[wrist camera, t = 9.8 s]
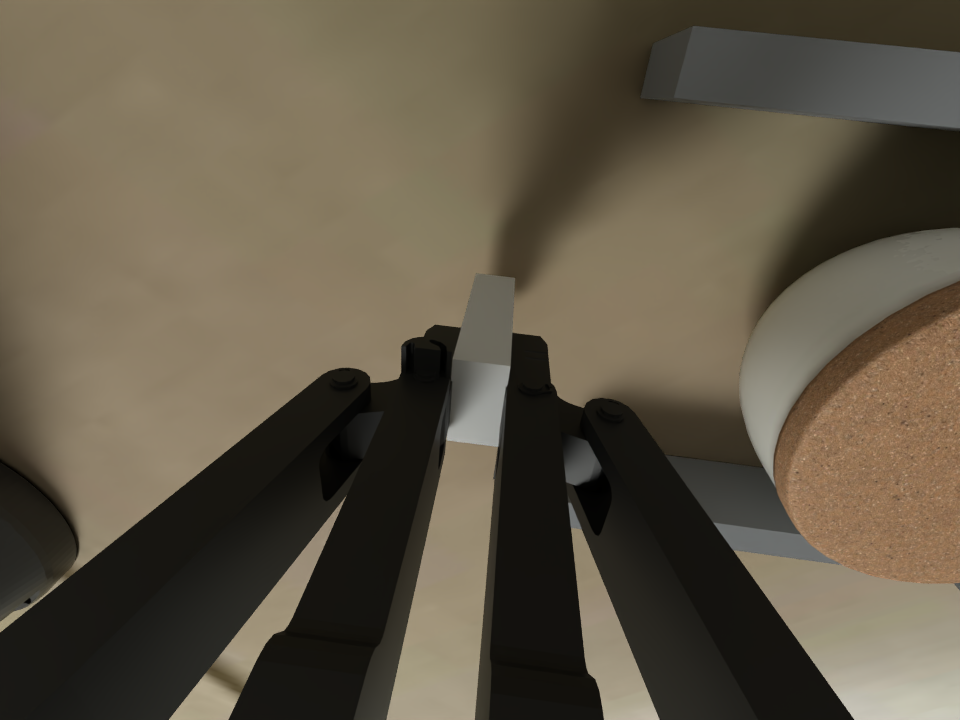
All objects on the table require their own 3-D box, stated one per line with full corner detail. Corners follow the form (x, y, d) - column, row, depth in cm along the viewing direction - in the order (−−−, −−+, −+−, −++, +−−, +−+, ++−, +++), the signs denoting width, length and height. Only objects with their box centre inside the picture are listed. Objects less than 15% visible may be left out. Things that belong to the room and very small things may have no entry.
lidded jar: (680, 252, 17) (812, 384, 9) (1022, 143, 15) (1627, 198, 7) (716, 453, 22) (823, 656, 14) (979, 399, 19) (1300, 614, 11)
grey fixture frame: (553, 462, 23) (562, 589, 17) (653, 43, 14) (745, 2, 8) (917, 511, 23) (1056, 659, 17) (1266, 105, 14) (1854, 111, 8)
